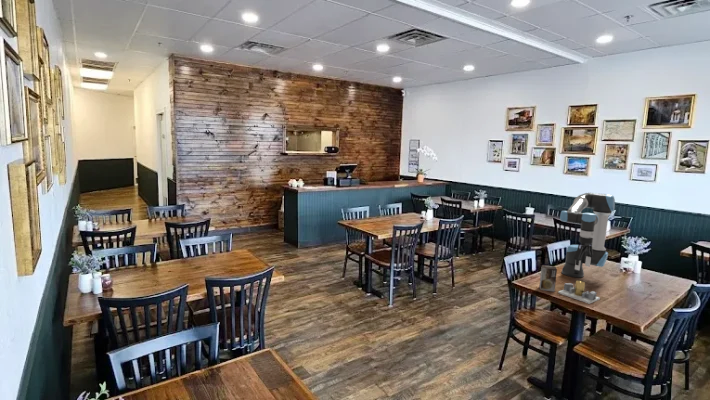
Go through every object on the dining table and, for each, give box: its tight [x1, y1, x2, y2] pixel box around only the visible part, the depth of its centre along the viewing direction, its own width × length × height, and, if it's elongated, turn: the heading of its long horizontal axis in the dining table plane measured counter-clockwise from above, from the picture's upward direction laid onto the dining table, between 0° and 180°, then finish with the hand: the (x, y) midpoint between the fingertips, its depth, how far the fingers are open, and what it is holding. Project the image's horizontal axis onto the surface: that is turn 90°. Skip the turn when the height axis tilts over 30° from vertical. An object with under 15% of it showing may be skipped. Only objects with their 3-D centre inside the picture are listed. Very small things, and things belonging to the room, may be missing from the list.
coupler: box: [574, 279, 586, 296], centre depth 258 cm, size 5×5×9 cm
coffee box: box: [539, 264, 558, 292], centre depth 268 cm, size 9×6×16 cm
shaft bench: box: [557, 282, 601, 305], centre depth 258 cm, size 20×14×6 cm
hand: (582, 268), depth 256 cm, fingers open, 13 cm apart
